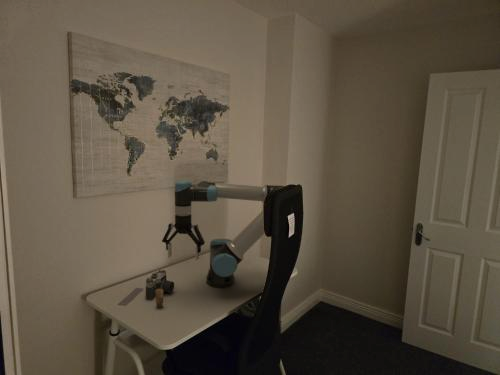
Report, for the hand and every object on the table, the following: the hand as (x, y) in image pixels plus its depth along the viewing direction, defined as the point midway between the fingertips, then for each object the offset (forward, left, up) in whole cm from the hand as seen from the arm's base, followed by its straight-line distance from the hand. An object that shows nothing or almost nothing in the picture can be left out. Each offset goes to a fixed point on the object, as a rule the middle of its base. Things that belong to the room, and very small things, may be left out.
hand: (183, 257), depth 156 cm
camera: (+11, +1, -19) cm, 22 cm away
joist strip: (+23, +7, -19) cm, 31 cm away
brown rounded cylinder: (+6, +13, -19) cm, 24 cm away
